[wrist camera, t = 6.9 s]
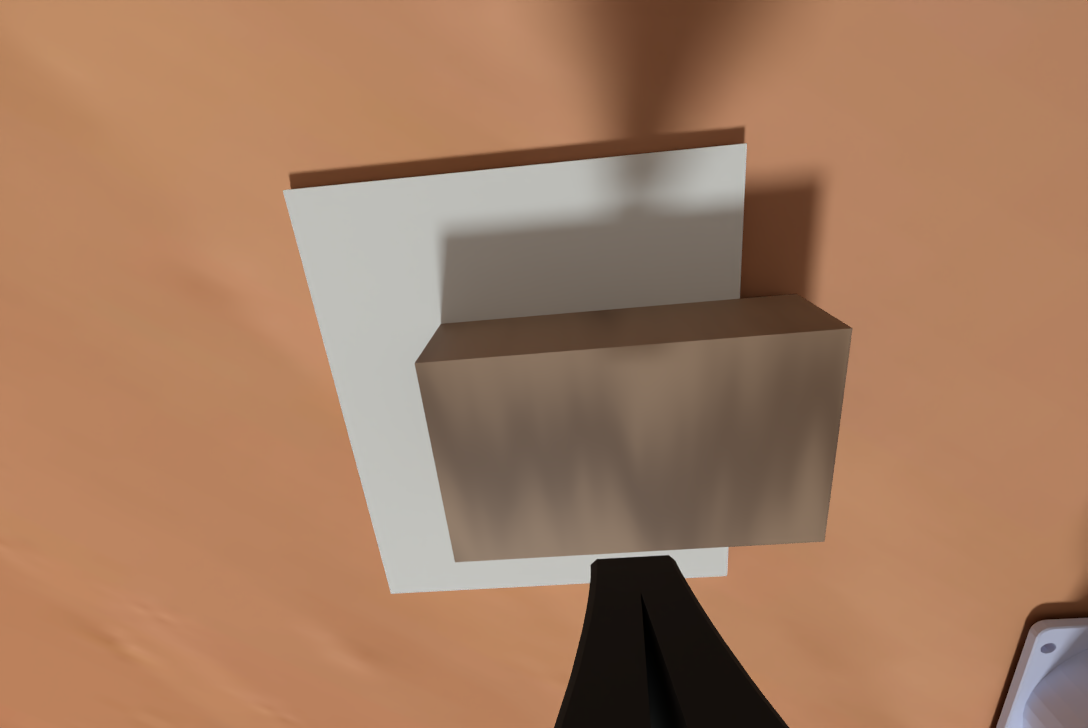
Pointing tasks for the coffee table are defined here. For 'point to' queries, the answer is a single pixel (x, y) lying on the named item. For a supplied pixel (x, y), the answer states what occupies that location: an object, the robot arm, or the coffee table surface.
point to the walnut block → (636, 427)
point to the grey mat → (498, 307)
